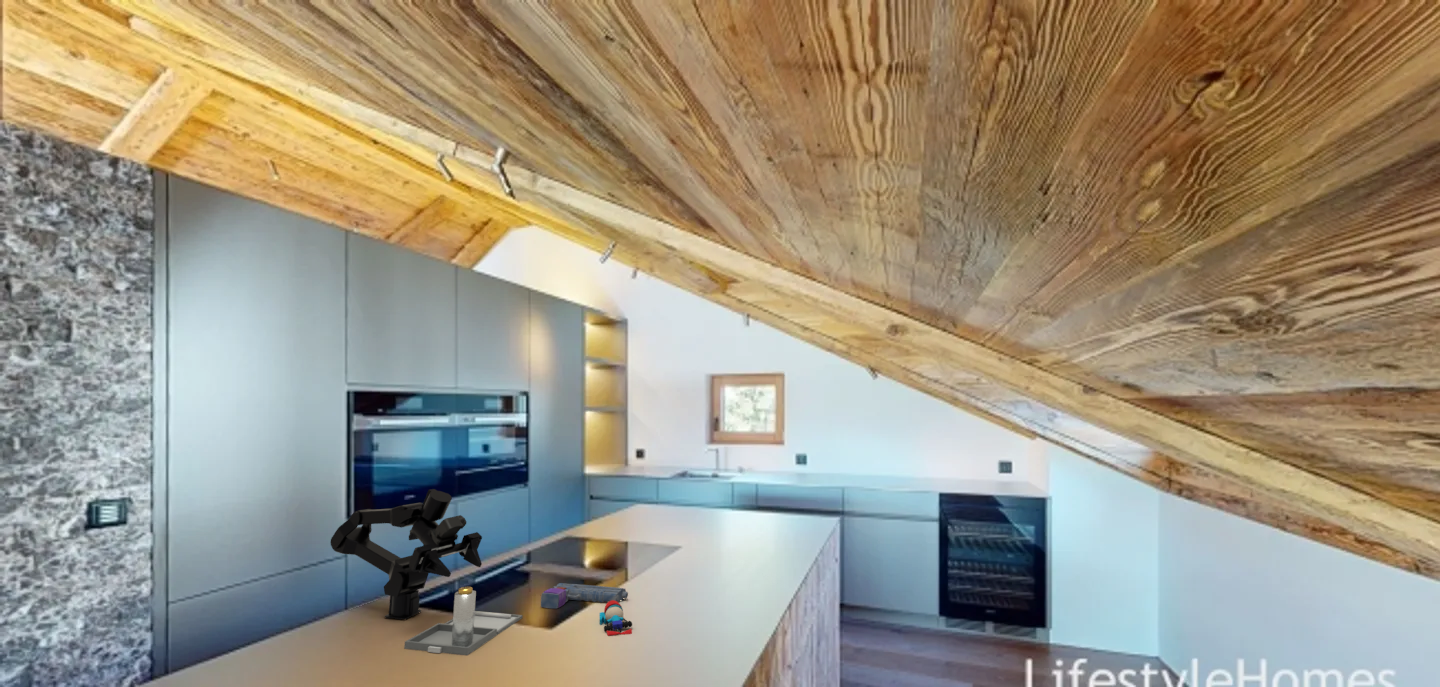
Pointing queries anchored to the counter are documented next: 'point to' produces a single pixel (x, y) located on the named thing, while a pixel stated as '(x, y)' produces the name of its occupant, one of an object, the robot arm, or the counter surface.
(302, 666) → the counter surface
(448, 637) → the case
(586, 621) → the counter surface
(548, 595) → the toy gun
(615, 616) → the toy figure
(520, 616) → the lid
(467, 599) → the grey cylinder
